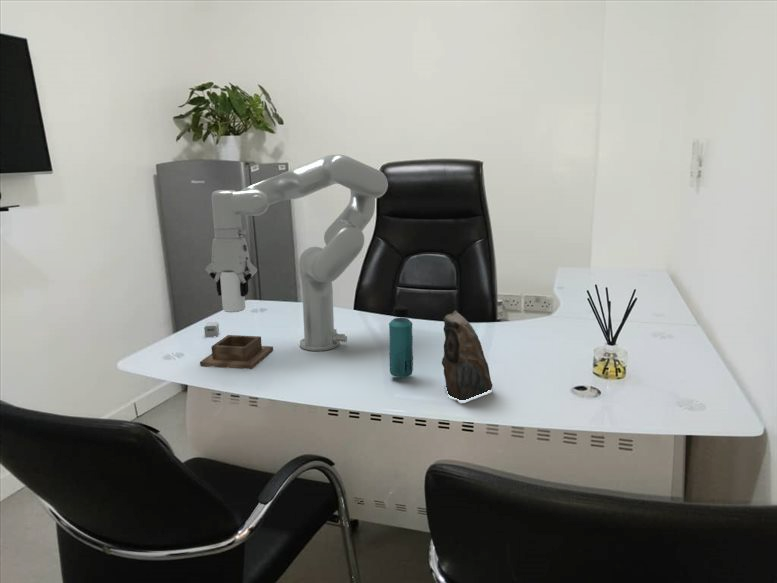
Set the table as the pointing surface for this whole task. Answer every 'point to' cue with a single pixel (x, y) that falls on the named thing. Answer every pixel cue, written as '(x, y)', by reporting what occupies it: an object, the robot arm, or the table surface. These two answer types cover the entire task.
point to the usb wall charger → (211, 329)
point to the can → (231, 292)
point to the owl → (463, 359)
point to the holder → (237, 352)
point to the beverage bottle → (401, 343)
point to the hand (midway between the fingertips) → (233, 294)
